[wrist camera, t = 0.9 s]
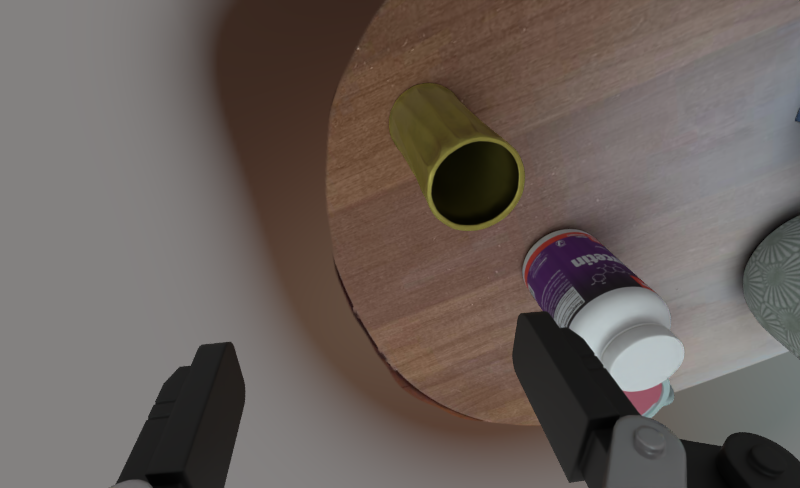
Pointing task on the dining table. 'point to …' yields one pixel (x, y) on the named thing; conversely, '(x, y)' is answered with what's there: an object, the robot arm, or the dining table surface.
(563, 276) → the pill bottle
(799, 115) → the box
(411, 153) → the vase
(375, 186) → the dining table surface
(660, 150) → the dining table surface
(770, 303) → the planter
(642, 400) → the mug
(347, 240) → the dining table surface
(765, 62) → the dining table surface
